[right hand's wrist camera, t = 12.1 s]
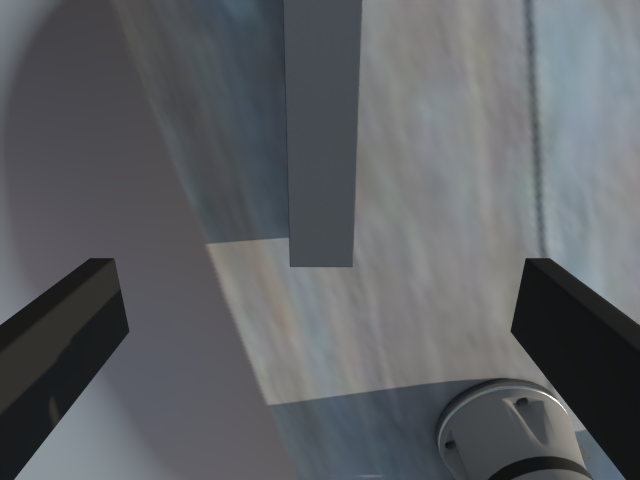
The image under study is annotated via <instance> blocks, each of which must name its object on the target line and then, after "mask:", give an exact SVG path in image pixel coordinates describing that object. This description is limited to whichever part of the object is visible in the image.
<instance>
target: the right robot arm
mask: <svg viewBox="0 0 640 480" xmlns="http://www.w3.org/2000/svg"><path fill="white" fill-rule="evenodd" d="M128 333H129V328H128V323H127V318H126V313H125V308H124V303H123V298H122V294H121V289H120V284H119V279H118V274H117V270H116V265H115V260H114V258H90V259H89V260H87V261H86V262H85V263H83V264H82V265H81V266H79V267H78V268H76V269H75V270H74V271H72V272H71V273H70V274H68V275H67V276H66V277H64V278H63V279H62V280H60V281H59V282H58V283H56V284H55V285H54V286H52V287H51V288H50V289H48V290H47V291H46V292H44V293H43V294H42V295H40V296H39V297H38V298H36V299H35V300H34V301H32V302H31V303H30V304H28V305H27V306H25V307H24V308H23V309H21V310H20V311H19V312H17V313H16V314H15V315H13V316H12V317H11V318H9V319H8V320H7V321H5V322H4V323H3V324H1V325H0V480H14V479H15V478H16V476H17V475H18V474H19V473H20V471H21V470H22V469H23V467H24V466H25V465H26V464H27V462H28V461H29V460H30V458H31V457H32V456H33V455H34V453H35V452H36V451H37V449H38V448H39V447H40V446H41V444H42V443H43V442H44V440H45V439H46V438H47V437H48V435H49V434H50V433H51V432H52V430H53V429H54V428H55V426H56V425H57V424H58V422H59V421H60V420H61V419H62V417H63V416H64V415H65V414H66V412H67V411H68V410H69V408H70V407H71V406H72V405H73V403H74V402H75V401H76V399H77V398H78V397H79V396H80V394H81V393H82V392H83V390H84V389H85V388H86V387H87V385H88V384H89V383H90V381H91V380H92V379H93V378H94V376H95V375H96V374H97V373H98V371H99V370H100V369H101V367H102V366H103V365H104V364H105V362H106V361H107V360H108V358H109V357H110V356H111V355H112V353H113V352H114V351H115V349H116V348H117V347H118V346H119V344H120V343H121V342H122V340H123V339H124V338H125V337H126V335H127V334H128ZM511 333H512V334H513V335H514V337H515V338H516V339H517V340H518V342H519V343H520V344H521V346H522V347H523V348H524V349H525V351H526V352H527V353H528V355H529V356H530V357H531V358H532V360H533V361H534V362H535V364H536V365H537V366H538V367H539V369H540V370H541V371H542V373H543V374H544V375H545V376H546V378H547V379H548V380H549V381H550V383H551V384H552V385H553V387H554V388H555V389H556V390H557V392H558V393H559V394H560V396H561V397H562V398H563V399H564V401H565V402H566V403H567V405H568V406H569V407H570V408H571V410H572V411H573V412H574V414H575V415H576V416H577V417H578V419H579V420H580V421H581V423H582V424H583V425H584V426H585V428H586V429H587V430H588V432H589V433H590V434H591V435H592V437H593V438H594V439H595V440H596V442H597V443H598V444H599V446H600V447H601V448H602V449H603V451H604V452H605V453H606V455H607V456H608V457H609V458H610V460H611V461H612V462H613V464H614V465H615V466H616V467H617V469H618V470H619V471H620V473H621V474H622V475H623V476H624V478H625V479H626V480H640V325H639V324H637V323H636V322H635V321H633V320H632V319H631V318H629V317H628V316H627V315H625V314H624V313H623V312H621V311H620V310H619V309H617V308H616V307H615V306H613V305H612V304H611V303H609V302H608V301H606V300H605V299H604V298H602V297H601V296H600V295H598V294H597V293H596V292H594V291H593V290H592V289H590V288H589V287H588V286H586V285H585V284H584V283H582V282H581V281H580V280H578V279H577V278H576V277H574V276H573V275H572V274H570V273H569V272H568V271H566V270H565V269H564V268H562V267H561V266H559V265H558V264H557V263H555V262H554V261H553V260H551V259H550V258H526V260H525V265H524V270H523V274H522V279H521V284H520V289H519V294H518V298H517V303H516V308H515V313H514V318H513V322H512V327H511ZM436 443H437V446H438V449H439V453H440V456H441V458H442V460H443V462H444V464H445V466H446V467H447V469H448V470H449V472H450V473H451V474H452V476H453V477H454V478H455V480H593V478H592V477H591V475H590V474H589V472H588V471H587V469H586V468H585V465H584V461H586V460H587V459H589V456H588V455H587V453H586V452H585V451H584V449H583V448H582V447H579V445H578V442H577V439H576V436H575V432H574V429H573V426H572V423H571V420H570V418H569V416H568V414H567V412H566V410H565V409H564V408H563V406H562V405H561V404H560V402H559V401H558V400H557V398H556V397H555V396H554V395H553V394H552V393H551V392H550V391H548V390H547V389H545V388H544V387H542V386H540V385H538V384H535V383H532V382H529V381H524V380H516V379H504V380H495V381H490V382H486V383H483V384H480V385H478V386H475V387H473V388H471V389H469V390H467V391H465V392H463V393H462V394H461V395H459V396H458V397H456V398H455V399H454V400H453V401H452V402H451V403H450V404H449V405H448V406H447V407H446V408H445V410H444V411H443V413H442V414H441V416H440V418H439V421H438V423H437V427H436Z"/></svg>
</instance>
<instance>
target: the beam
mask: <svg viewBox="0 0 640 480" xmlns="http://www.w3.org/2000/svg"><path fill="white" fill-rule="evenodd" d="M362 8H363V0H283V22H284V59H285V97H286V135H287V172H288V210H289V247H290V267H353V250H354V223H355V196H356V169H357V142H358V115H359V89H360V62H361V35H362Z"/></svg>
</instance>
